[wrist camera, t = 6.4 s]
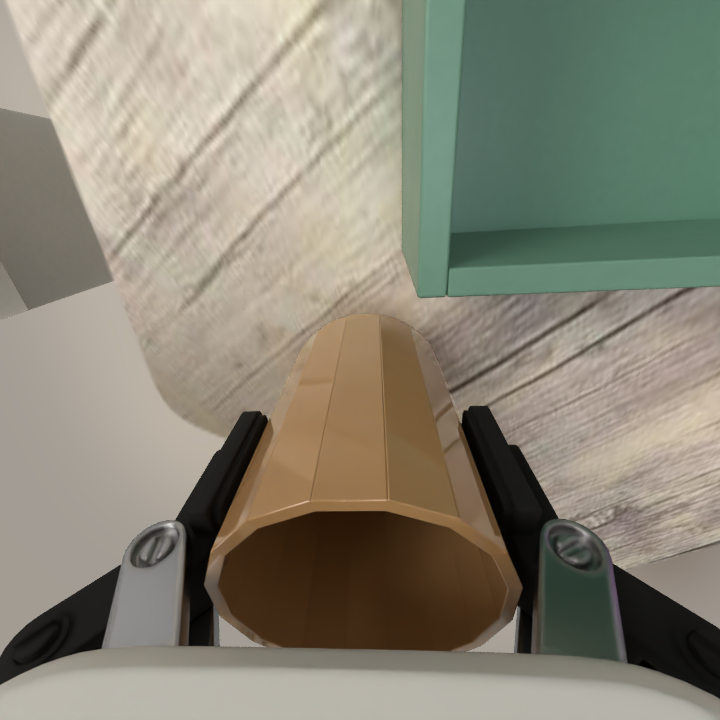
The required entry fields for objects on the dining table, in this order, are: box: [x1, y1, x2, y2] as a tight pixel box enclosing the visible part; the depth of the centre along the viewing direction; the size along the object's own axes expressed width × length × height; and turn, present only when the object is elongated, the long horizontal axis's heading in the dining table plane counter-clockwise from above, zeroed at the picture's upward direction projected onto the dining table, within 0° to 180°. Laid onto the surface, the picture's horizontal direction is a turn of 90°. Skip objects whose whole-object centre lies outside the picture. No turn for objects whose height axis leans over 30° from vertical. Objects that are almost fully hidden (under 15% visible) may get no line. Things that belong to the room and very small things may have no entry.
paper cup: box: [204, 314, 523, 652], centre depth 11 cm, size 7×7×9 cm
